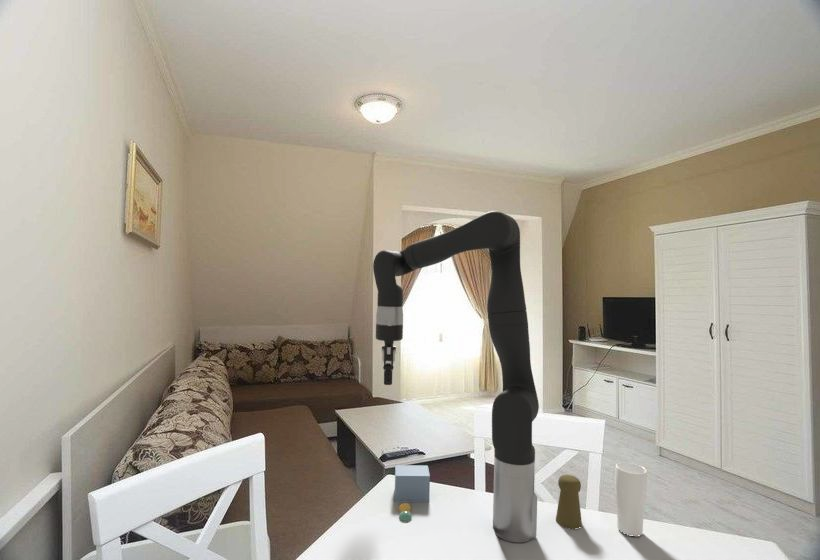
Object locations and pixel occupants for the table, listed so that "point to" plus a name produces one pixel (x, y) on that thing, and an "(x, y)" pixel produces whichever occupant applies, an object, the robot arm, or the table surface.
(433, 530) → the table surface
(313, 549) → the table surface
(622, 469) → the drinking glass
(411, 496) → the blue-grey block
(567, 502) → the cork
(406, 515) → the green marble
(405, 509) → the amber marble
